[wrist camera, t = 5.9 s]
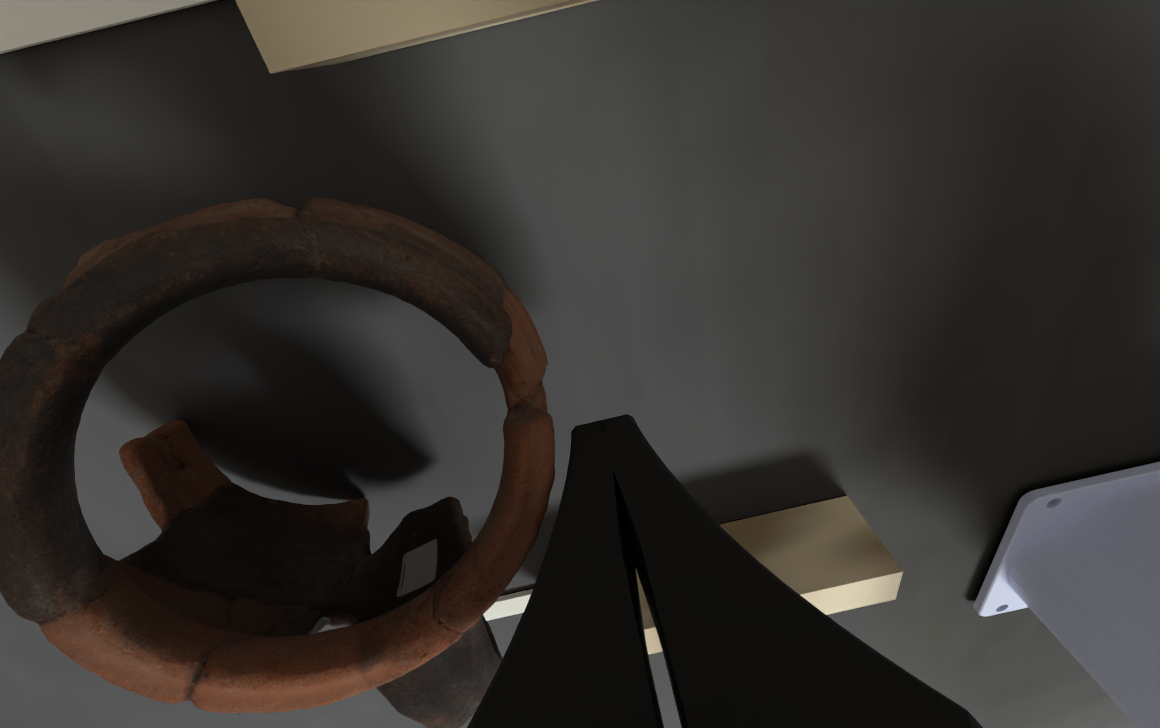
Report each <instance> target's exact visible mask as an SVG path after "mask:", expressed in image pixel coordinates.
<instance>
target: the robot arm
mask: <svg viewBox="0 0 1160 728" xmlns="http://www.w3.org/2000/svg"><path fill="white" fill-rule="evenodd" d="M636 570H637V573H638V576H639V579H640V582H641V585H642V588H643V591H644V594H645V597H646V601H647V604H648V607H649V610H650V613H651V616H652V619H653V622H654V625H655V628H656V631H657V634H658V637H659V640H660V644H661V647H662V651H663V654H664V658H665V661H666V665H667V669H668V673H669V677H670V682H671V686H672V690H673V694H674V698H675V702H676V706H677V710H678V715H679V719H680V723H681V727H682V728H983V727H982V726H981V725H980V724H979V723H978V722H977V721H976V719H975V718H974V717H973V716H972V715H971V714H970V713H969V712H968V711H967V710H966V709H964V708H963V707H961V706H960V705H958V704H956V703H955V702H953V701H952V700H950V699H949V698H947V697H945V696H944V695H942V694H941V693H939V692H938V691H936V690H934V689H933V688H931V687H930V686H928V685H927V684H925V683H923V682H922V681H920V680H919V679H917V678H916V677H914V676H913V675H911V674H910V673H908V672H907V671H905V670H904V669H902V668H901V667H899V666H898V665H896V664H895V663H893V662H892V661H890V660H889V659H887V658H886V657H884V656H883V655H881V654H880V653H878V652H877V651H875V650H874V649H873V648H871V647H870V646H868V645H867V644H866V643H864V642H863V641H861V640H860V639H858V638H857V637H856V636H854V635H853V634H851V633H850V632H848V631H847V630H846V629H844V628H843V627H841V626H840V625H839V624H837V623H836V622H835V621H833V620H832V619H831V618H829V617H828V616H827V615H826V614H824V613H823V612H822V611H820V610H819V609H818V608H816V607H815V606H814V605H812V604H811V603H810V602H809V601H807V600H806V599H805V598H803V597H802V596H801V595H799V594H798V593H797V592H796V591H794V590H793V589H792V588H790V587H789V586H788V585H786V584H785V583H784V582H783V581H781V580H780V579H779V578H778V577H777V576H775V575H774V574H773V573H772V572H771V571H770V570H768V569H767V568H766V567H765V566H764V565H763V564H761V563H760V562H759V561H758V560H757V559H755V558H754V557H753V556H752V555H751V554H750V553H749V552H748V551H747V550H745V549H744V548H743V547H742V546H741V545H740V544H739V543H738V542H737V541H736V540H734V539H733V538H732V537H731V536H730V535H729V534H728V533H727V532H726V531H725V530H724V529H723V528H722V527H721V526H720V525H719V524H718V523H717V522H716V521H715V520H714V519H713V518H712V517H711V516H710V515H709V514H708V513H707V512H706V511H705V510H704V509H703V508H702V507H701V506H700V505H699V504H698V503H697V501H696V500H695V499H694V498H693V497H692V496H691V495H690V494H689V493H688V492H687V490H686V489H685V488H684V487H683V486H682V485H681V483H680V482H679V481H678V480H677V479H676V478H675V476H674V475H673V474H672V473H671V472H670V470H669V469H668V468H667V467H666V466H665V464H664V463H663V462H662V461H661V459H660V458H659V457H658V455H657V454H656V453H655V451H654V450H653V448H652V447H651V446H650V444H649V443H648V441H647V440H646V439H645V437H644V435H643V434H642V432H641V431H640V429H639V427H638V426H637V424H636V422H635V420H634V418H633V417H631V416H630V415H628V414H626V415H622V416H618V417H613V418H609V419H605V420H600V421H596V422H592V423H587V424H583V425H579V426H575V428H574V429H573V430H572V431H571V451H570V458H569V465H568V471H567V476H566V481H565V486H564V490H563V494H562V499H561V503H560V507H559V511H558V515H557V519H556V522H555V525H554V529H553V532H552V535H551V538H550V542H549V545H548V548H547V552H546V555H545V558H544V561H543V563H542V566H541V569H540V572H539V575H538V577H537V580H536V583H535V585H534V588H533V591H532V593H531V596H530V598H529V601H528V603H527V606H526V608H525V610H524V613H523V615H522V617H521V620H520V622H519V624H518V626H517V629H516V631H515V633H514V635H513V638H512V640H511V642H510V645H509V647H508V649H507V651H506V653H505V655H504V657H503V659H502V662H501V664H500V666H499V668H498V670H497V672H496V674H495V676H494V677H493V679H492V681H491V683H490V685H489V687H488V689H487V691H486V693H485V695H484V697H483V698H482V700H481V702H480V704H479V706H478V708H477V710H476V712H475V714H474V716H473V717H472V719H471V721H470V723H469V725H468V727H467V728H664V725H663V721H662V716H661V712H660V707H659V703H658V698H657V694H656V689H655V685H654V680H653V676H652V671H651V667H650V662H649V656H648V650H647V645H646V639H645V632H644V625H643V617H642V610H641V603H640V596H639V589H638V582H637V575H636ZM1027 607H1029V608H1030V609H1031V610H1032V612H1033V613H1034V614H1035V615H1036V616H1037V617H1038V618H1039V619H1040V620H1041V621H1042V623H1043V624H1044V625H1045V626H1046V627H1047V628H1048V629H1049V630H1050V631H1051V632H1052V634H1053V635H1054V636H1055V637H1056V638H1057V639H1058V640H1059V641H1060V642H1061V643H1062V645H1063V646H1064V647H1065V648H1066V649H1067V650H1068V651H1069V652H1070V653H1071V654H1072V656H1073V657H1074V658H1075V659H1076V660H1077V661H1078V662H1079V663H1080V664H1081V665H1082V667H1083V668H1084V669H1085V670H1086V671H1087V672H1088V673H1089V674H1090V675H1091V677H1092V678H1093V679H1094V680H1095V681H1096V682H1097V683H1098V684H1099V685H1100V686H1101V688H1102V689H1103V690H1104V691H1105V692H1106V693H1107V694H1108V695H1109V696H1110V697H1111V699H1112V700H1113V701H1114V702H1115V703H1116V704H1117V705H1118V706H1119V707H1120V708H1121V710H1122V711H1123V712H1124V713H1125V714H1126V715H1127V716H1128V717H1129V718H1130V719H1131V721H1132V722H1133V723H1134V724H1135V725H1136V726H1137V727H1138V728H1160V462H1155V463H1151V464H1147V465H1142V466H1138V467H1133V468H1129V469H1124V470H1120V471H1116V472H1111V473H1107V474H1102V475H1098V476H1093V477H1089V478H1085V479H1080V480H1076V481H1071V482H1067V483H1062V484H1058V485H1054V486H1049V487H1045V488H1040V489H1036V490H1032V491H1030V492H1028V493H1026V494H1024V495H1023V496H1022V497H1021V498H1020V500H1019V501H1018V504H1017V506H1016V508H1015V510H1014V513H1013V515H1012V517H1011V520H1010V522H1009V524H1008V527H1007V529H1006V531H1005V534H1004V536H1003V538H1002V540H1001V543H1000V545H999V547H998V550H997V552H996V554H995V557H994V559H993V561H992V564H991V566H990V568H989V571H988V573H987V575H986V577H985V580H984V582H983V584H982V587H981V589H980V591H979V594H978V596H977V598H976V601H975V603H974V607H973V608H974V609H975V610H976V611H977V613H978V614H979V615H980V616H991V615H996V614H1000V613H1005V612H1009V611H1014V610H1018V609H1023V608H1027Z"/></svg>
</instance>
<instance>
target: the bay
mask: <svg viewBox="0 0 1160 728" xmlns="http://www.w3.org/2000/svg"><path fill="white" fill-rule="evenodd" d="M213 1H217V0H0V54H3V53H7V52H11V51H15V50H19V49H23V48H27V47H31V46H35V45H39V44H43V43H47V42H51V41H55V40H59V39H63V38H67V37H71V36H76V35H80V34H84V33H88V32H92V31H96V30H100V29H104V28H108V27H112V26H116V25H120V24H124V23H128V22H132V21H136V20H140V19H144V18H148V17H152V16H156V15H160V14H164V13H169V12H173V11H177V10H181V9H185V8H189V7H193V6H197V5H201V4H205V3H209V2H213ZM532 591H533V589H530V590H526V591H521V592H517V593H512V594H508V595H504V596H499V597H498V599H497V601H496V602H495V603H494V604H493V605H492V606H491V607H490V608H489V609H488V610H487V611H486V612H485V613H484V614H483V615H484V617H485V619H486V621H488V620H492V619H497V618H501V617H505V616H510V615H514V614H519V613H523V612H524V610H525V608H526V606H527V603H528V601H529V598H530V596H531V593H532Z"/></svg>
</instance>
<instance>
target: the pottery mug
mask: <svg viewBox="0 0 1160 728" xmlns="http://www.w3.org/2000/svg"><path fill="white" fill-rule="evenodd" d="M309 277H318V278H324V279H328V280H332V281H340V282H347V283H352V284H355V285H359V286H363V287H367V288H371V289H375V290H378V291H381V292H383V293H386V294H389V295H393V296H395V297H397V298H399V299H401V300H403V301H406V302H408V303H410V304H412V305H414V306H416V307H417V308H419V309H421V310H422V311H424V312H426V313H427V314H428V315H430V316H431V317H433V318H434V319H436V320H437V321H439V322H440V323H441V324H442V325H444V326H445V327H446V328H447V329H448V330H450V331H451V332H452V333H453V334H454V335H456V336H457V337H458V338H459V339H460V340H461V342H462V343H463V344H464V345H465V346H466V348H467V349H468V350H469V351H470V352H471V353H472V354H473V355H474V356H475V357H476V358H477V359H478V360H479V361H480V362H481V363H483V364H484V365H485V366H487V367H489V368H494V369H495V370H496V372H497V374H498V376H499V379H500V381H501V384H502V387H503V390H504V394H505V399H506V404H507V407H508V413H507V417H506V419H505V421H504V425H503V433H504V462H503V471H502V476H501V481H500V486H499V489H498V492H497V495H496V498H495V501H494V504H493V506H492V509H491V512H490V514H489V516H488V518H487V520H486V522H485V524H484V526H483V528H482V529H481V531H480V533H479V534H478V536H477V537H476V539H475V540H474V541H473V542H472V536H471V534H470V531H469V520H468V518H467V517H466V516H464V515H463V510H462V507H461V505H460V501H459V500H458V499H456V498H454V497H447V498H444V499H442V500H440V501H438V502H436V503H435V504H433V505H431V506H429V507H426V508H423V509H419V510H416V511H413V512H410V513H409V514H407V515H406V516H405V517H404V518H403V520H402V521H401V523H400V524H399V526H398V527H397V528H396V529H395V531H394V532H393V533H392V534H391V535H390V536H389V538H388V539H387V540H386V542H385V543H384V544H383V545H382V546H381V547H380V548H379V549H378V550H377V551H376V552H375V553H373V554H372V555H371V551H370V533H369V530H368V529H367V526H368V521H369V514H370V511H369V503H368V500H367V499H366V498H361V499H356V500H352V501H347V502H343V503H338V504H324V505H303V504H297V503H291V502H286V501H281V500H274V499H269V498H265V497H261V496H259V495H256V494H254V493H251V492H249V491H247V490H245V489H244V488H242V487H240V486H238V485H236V484H234V483H232V482H231V481H230V479H229V478H228V477H227V476H226V475H224V474H223V473H222V472H221V471H220V470H219V469H218V468H217V467H216V466H215V465H214V463H213V462H212V461H211V459H210V458H209V457H208V456H207V455H206V454H205V453H204V451H203V450H202V449H201V448H200V446H199V444H198V443H197V441H196V439H195V438H194V436H193V434H192V433H191V430H190V428H189V426H188V425H187V423H186V422H184V421H183V420H174V421H171V422H168V423H167V424H165V425H163V426H161V427H159V428H157V429H156V430H154V431H152V432H151V433H149V434H148V435H147V436H145V437H142V438H136V439H133V440H131V441H129V442H127V443H125V444H124V445H123V446H122V447H121V448H120V451H119V455H120V458H121V461H122V464H123V466H124V468H125V469H126V471H127V473H128V474H129V476H130V477H131V479H132V480H133V482H134V483H135V485H136V486H137V488H138V490H139V491H140V493H141V495H142V498H143V501H144V504H145V506H146V507H147V509H148V511H149V513H150V515H151V516H152V518H153V519H154V520H155V522H156V523H157V524H158V526H159V527H160V529H161V530H162V533H161V534H160V536H159V537H158V538H157V539H156V540H155V541H153V542H151V543H149V544H148V545H146V546H144V547H143V548H141V549H140V550H138V551H137V552H135V553H132V554H130V555H129V556H127V557H125V558H123V559H121V560H119V561H117V560H115V559H113V558H111V557H109V556H106V555H104V554H103V553H102V551H101V550H100V548H99V547H98V546H97V544H96V542H95V541H94V539H93V537H92V535H91V533H90V531H89V529H88V526H87V524H86V522H85V520H84V517H83V515H82V512H81V508H80V505H79V502H78V497H77V489H76V484H75V471H74V450H75V441H76V433H77V430H78V427H79V423H80V419H81V415H82V412H83V409H84V407H85V404H86V401H87V399H88V397H89V394H90V392H91V389H92V388H93V386H94V384H95V382H96V381H97V379H98V377H99V376H100V373H101V371H102V369H103V367H104V366H105V365H106V364H107V363H108V362H109V361H110V360H111V359H112V358H113V357H114V356H115V355H116V354H117V353H118V352H119V351H120V350H121V348H122V347H123V346H124V345H126V344H127V343H128V342H129V341H130V340H131V339H132V338H133V337H134V336H135V335H137V334H138V333H139V332H140V331H142V330H143V329H144V328H145V327H147V326H148V325H149V324H151V323H152V322H153V321H155V320H156V319H157V318H159V317H160V316H162V315H163V314H165V313H167V312H169V311H170V310H172V309H174V308H176V307H178V306H179V305H181V304H183V303H185V302H187V301H189V300H192V299H194V298H196V297H198V296H202V295H205V294H207V293H210V292H213V291H216V290H218V289H221V288H225V287H230V286H233V285H236V284H240V283H244V282H249V281H255V280H261V279H273V278H309ZM547 364H548V361H547V357H546V353H545V350H544V347H543V345H542V342H541V340H540V337H539V335H538V332H537V330H536V328H535V326H534V324H533V322H532V320H531V318H530V316H529V314H528V313H527V311H526V309H525V308H524V306H523V305H522V303H521V302H520V300H519V299H518V297H517V296H516V295H515V294H514V293H513V291H512V290H511V289H510V288H506V282H505V280H504V278H503V276H502V275H501V274H500V273H499V271H498V270H497V269H496V268H495V267H494V266H493V265H491V264H490V263H488V262H487V261H485V260H484V259H482V258H480V257H479V256H478V255H476V254H474V253H473V252H471V251H470V250H468V249H466V248H465V247H463V246H462V245H460V244H458V243H455V242H454V241H452V240H450V239H448V238H446V237H445V236H443V235H441V234H439V233H437V232H436V231H433V230H431V229H429V228H427V227H424V226H423V225H421V224H418V223H416V222H414V221H411V220H409V219H406V218H404V217H401V216H398V215H395V214H393V213H389V212H387V211H384V210H380V209H376V208H373V207H369V206H363V205H359V204H354V203H350V202H345V201H341V200H337V199H331V198H324V197H311V198H309V199H308V200H306V201H305V203H304V204H303V205H302V207H301V209H300V208H294V207H288V206H285V205H282V204H280V203H278V202H276V201H273V200H271V199H265V198H248V199H244V200H239V201H234V202H228V203H222V204H217V205H213V206H209V207H206V208H203V209H200V210H197V211H195V212H192V213H188V214H183V215H180V216H177V217H175V218H173V219H171V220H169V221H166V222H163V223H159V224H157V225H154V226H151V227H147V228H144V229H142V230H138V231H135V232H132V233H129V234H126V235H123V236H121V237H119V238H115V239H111V240H107V241H105V242H103V243H101V244H100V245H98V246H96V247H94V248H93V249H91V250H89V251H88V252H86V253H85V254H83V255H81V256H80V257H79V260H78V263H77V264H76V268H75V269H74V270H73V271H72V272H71V273H69V274H68V276H67V277H66V279H65V281H64V285H63V288H62V290H61V291H59V292H57V293H56V294H54V295H52V296H51V297H49V298H48V299H46V300H45V301H43V302H42V303H41V304H39V305H38V306H37V308H36V309H35V310H34V312H33V314H32V316H31V318H30V320H29V323H28V327H27V330H26V331H25V332H24V333H22V334H20V335H19V336H17V337H16V338H15V339H14V340H13V341H12V342H11V344H10V345H9V346H8V347H7V348H6V350H5V351H4V353H3V356H2V358H1V360H0V592H1V594H2V596H3V597H4V599H5V601H6V603H7V604H8V605H9V606H10V607H11V608H12V609H13V611H14V612H15V613H16V614H17V615H19V616H20V617H22V618H24V619H27V620H30V621H34V622H36V623H38V624H39V626H40V628H41V630H42V632H43V634H44V635H45V637H46V638H47V640H48V641H49V642H51V643H52V644H54V645H55V646H56V647H57V648H58V649H59V650H60V651H61V652H62V653H64V654H65V655H67V656H68V657H69V658H71V659H72V660H73V661H75V662H76V663H77V664H79V665H81V666H82V667H84V668H85V669H87V670H89V671H91V672H93V673H95V674H97V675H99V676H100V677H102V678H104V679H105V680H107V681H109V682H110V683H112V684H114V685H117V686H119V687H121V688H124V689H126V690H129V691H132V692H135V693H138V694H140V695H143V696H146V697H148V698H151V699H154V700H157V701H161V702H166V703H179V702H183V701H190V700H191V701H192V702H193V704H194V705H195V706H196V707H197V708H198V709H202V710H205V711H209V712H219V713H245V712H264V713H275V712H282V711H291V710H296V709H308V708H311V707H315V706H322V705H326V704H330V703H333V702H336V701H340V700H343V699H345V698H348V697H351V696H354V695H356V694H359V693H361V692H364V691H368V690H371V689H374V688H377V689H378V690H379V691H380V692H381V693H382V695H383V696H384V697H386V699H387V700H388V701H389V702H390V703H391V705H392V706H393V707H394V708H395V709H396V710H397V711H398V712H399V713H400V714H402V715H404V716H406V717H408V718H410V719H412V720H415V721H417V722H419V723H421V724H423V725H424V726H425V727H427V728H459V727H461V726H462V725H464V724H465V723H466V722H467V721H468V720H469V719H470V718H471V716H472V715H473V714H474V713H475V712H476V710H477V708H478V706H479V704H480V702H481V700H482V698H483V697H484V695H485V693H486V691H487V689H488V687H489V685H490V683H491V681H492V679H493V677H494V676H495V674H496V672H497V670H498V668H499V666H500V664H501V662H502V656H501V654H500V652H499V649H498V646H497V644H496V641H495V638H494V636H493V633H492V631H491V628H490V626H489V624H488V622H487V621H486V619H485V617H484V615H483V614H484V613H485V612H486V611H487V610H488V609H489V608H490V607H491V606H492V605H493V604H494V603H495V602H496V601H497V599H498V597H499V595H500V594H501V593H502V592H503V591H504V590H505V588H506V587H507V586H508V584H509V583H510V581H511V580H512V578H513V577H514V575H515V574H516V573H517V572H518V571H519V569H520V567H521V565H522V563H523V562H524V560H525V559H526V557H527V555H528V553H529V551H530V549H531V548H532V546H533V544H534V542H535V540H536V539H537V536H538V532H539V529H540V526H541V524H542V520H543V517H544V514H545V512H546V510H547V507H548V501H549V496H550V492H551V489H552V486H553V482H554V477H555V468H554V462H555V455H554V451H555V443H554V428H553V421H552V417H551V415H550V414H548V412H547V403H546V394H545V391H544V387H543V384H542V379H543V376H544V374H545V369H546V366H547ZM328 624H329V625H332V626H343V625H353V626H349V627H346V628H342V629H337V630H332V631H328V632H323V633H318V631H319V630H321V629H322V628H323V627H324V626H325V625H328Z"/></svg>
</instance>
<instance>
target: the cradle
mask: <svg viewBox="0 0 1160 728" xmlns="http://www.w3.org/2000/svg"><path fill="white" fill-rule="evenodd" d="M235 1H236V3H237V5H238V7H239V9H240V11H241V13H242V15H243V18H244V20H245V22H246V24H247V26H248V28H249V30H250V32H251V34H252V36H253V38H254V41H255V43H256V45H257V47H258V49H259V51H260V53H261V55H262V57H263V59H264V62H265V64H266V66H267V68H268V70H269V72H270V74H271V73H278V72H285V71H292V70H299V69H306V68H313V67H320V66H327V65H334V64H339V63H343V62H347V61H351V60H355V59H360V58H364V57H368V56H372V55H376V54H380V53H384V52H388V51H392V50H396V49H400V48H405V47H409V46H413V45H417V44H421V43H425V42H429V41H433V40H437V39H441V38H446V37H450V36H454V35H458V34H462V33H466V32H470V31H474V30H478V29H482V28H486V27H491V26H495V25H499V24H503V23H507V22H511V21H515V20H519V19H523V18H527V17H531V16H536V15H540V14H544V13H548V12H552V11H556V10H560V9H564V8H568V7H572V6H577V5H581V4H585V3H589V2H593V1H597V0H235ZM720 526H721V527H722V528H723V529H724V530H725V531H726V532H727V533H728V534H729V535H730V536H731V537H732V538H733V539H734V540H736V541H737V542H738V543H739V544H740V545H741V546H742V547H743V548H744V549H745V550H747V551H748V552H749V553H750V554H751V555H752V556H753V557H754V558H755V559H757V560H758V561H759V562H760V563H761V564H763V565H764V566H765V567H766V568H767V569H768V570H770V571H771V572H772V573H773V574H774V575H775V576H777V577H778V578H779V579H780V580H781V581H783V582H784V583H785V584H786V585H788V586H789V587H790V588H792V589H793V590H794V591H796V592H797V593H798V594H799V595H801V596H802V597H803V598H805V599H806V600H807V601H809V602H810V603H811V604H812V605H814V606H815V607H816V608H818V609H819V610H820V611H822V612H823V613H824V614H826V615H827V614H832V613H836V612H841V611H845V610H850V609H854V608H859V607H863V606H868V605H872V604H876V603H881V602H885V601H890V600H894V599H896V595H897V592H898V588H899V584H900V581H901V577H902V573H903V571H902V570H901V568H900V567H899V566H898V564H897V563H896V561H895V560H894V559H893V557H892V556H891V555H890V553H889V552H888V551H887V549H886V548H885V546H884V545H883V544H882V542H881V541H880V540H879V538H878V537H877V536H876V534H875V533H874V531H873V530H872V529H871V527H870V526H869V525H868V523H867V522H866V521H865V519H864V518H863V516H862V515H861V514H860V512H859V511H858V510H857V508H856V507H855V506H854V504H853V503H852V502H851V500H850V499H849V497H848V496H843V497H839V498H834V499H830V500H826V501H821V502H817V503H812V504H808V505H804V506H799V507H795V508H790V509H786V510H782V511H777V512H773V513H768V514H764V515H760V516H755V517H751V518H746V519H742V520H737V521H733V522H729V523H724V524H720ZM541 566H542V565H541ZM636 575H637V582H638V589H639V596H640V603H641V610H642V617H643V625H644V632H645V639H646V645H647V650H648V654H653V653H657V652H662V647H661V644H660V640H659V637H658V634H657V631H656V628H655V625H654V622H653V619H652V616H651V613H650V610H649V607H648V604H647V601H646V597H645V594H644V591H643V588H642V585H641V582H640V579H639V576H638V573H637V570H636Z"/></svg>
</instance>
